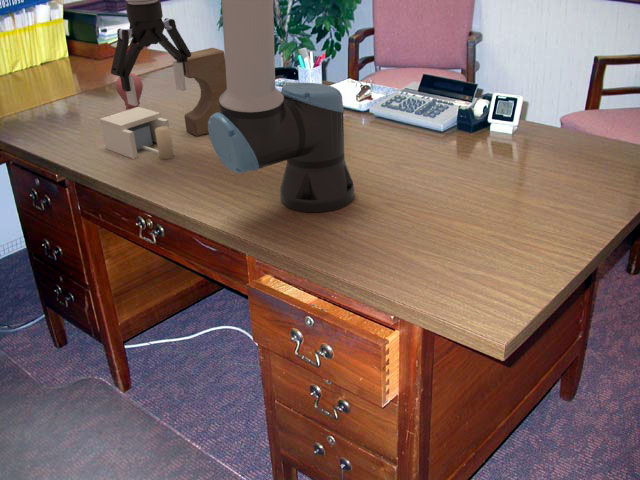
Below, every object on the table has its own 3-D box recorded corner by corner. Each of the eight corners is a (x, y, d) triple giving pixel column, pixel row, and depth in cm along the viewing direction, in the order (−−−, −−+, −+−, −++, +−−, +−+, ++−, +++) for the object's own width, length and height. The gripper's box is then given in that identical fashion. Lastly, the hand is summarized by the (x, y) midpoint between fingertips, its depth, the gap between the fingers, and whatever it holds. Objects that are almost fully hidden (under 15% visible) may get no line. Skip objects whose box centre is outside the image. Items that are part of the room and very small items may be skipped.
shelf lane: (105, 148, 177) (99, 118, 173) (143, 135, 184) (138, 106, 180) (133, 158, 169) (128, 128, 166) (172, 144, 177) (167, 115, 173)
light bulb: (141, 120, 195) (134, 77, 189) (117, 119, 196) (109, 77, 190) (151, 112, 201) (144, 70, 195) (127, 111, 202) (120, 70, 197)
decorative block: (196, 137, 181) (185, 58, 171) (185, 131, 185) (174, 54, 175) (233, 127, 187) (225, 50, 177) (222, 121, 191) (213, 47, 181)
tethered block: (118, 146, 177) (113, 119, 174) (138, 139, 181) (133, 113, 178) (160, 162, 167) (156, 133, 163) (181, 154, 170) (176, 126, 167)
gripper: (178, -10, 163) (190, 81, 173) (82, 9, 147) (101, 108, 157) (198, -7, 158) (210, 86, 169) (102, 12, 143) (121, 114, 153)
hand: (157, 97), depth 163 cm, fingers open, 13 cm apart
